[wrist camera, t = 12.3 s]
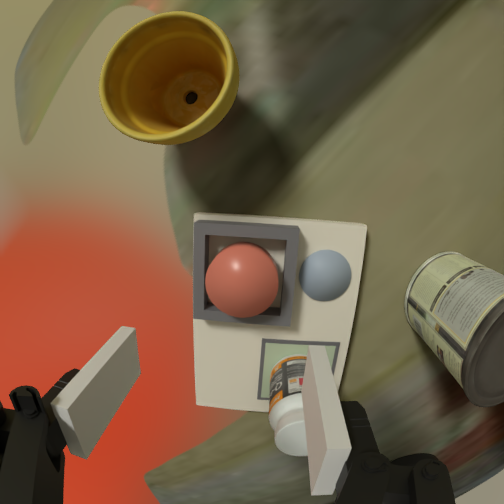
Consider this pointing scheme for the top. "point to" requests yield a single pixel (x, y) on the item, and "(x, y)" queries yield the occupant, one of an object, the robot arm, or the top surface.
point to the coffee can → (462, 322)
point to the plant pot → (169, 78)
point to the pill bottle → (288, 405)
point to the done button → (242, 280)
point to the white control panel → (274, 303)
